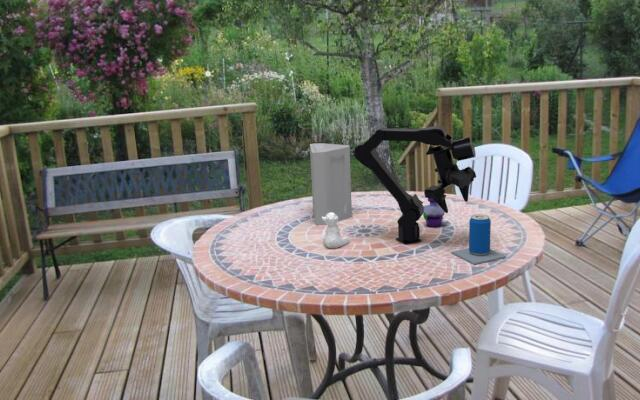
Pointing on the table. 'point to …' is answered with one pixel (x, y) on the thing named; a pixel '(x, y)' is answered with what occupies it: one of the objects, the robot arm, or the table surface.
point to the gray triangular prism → (330, 181)
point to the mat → (477, 256)
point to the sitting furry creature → (333, 232)
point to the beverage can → (479, 234)
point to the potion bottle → (433, 214)
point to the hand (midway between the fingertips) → (456, 207)
